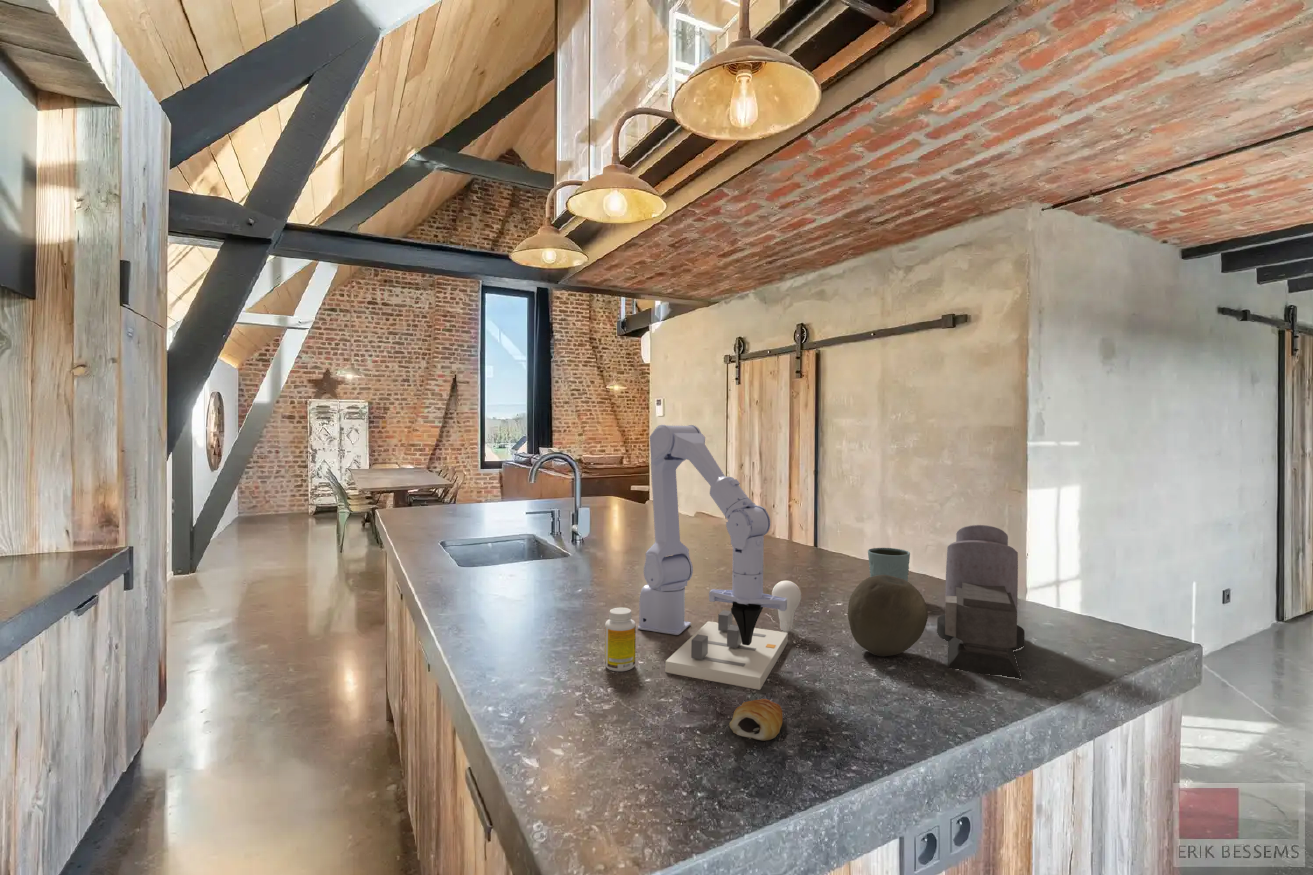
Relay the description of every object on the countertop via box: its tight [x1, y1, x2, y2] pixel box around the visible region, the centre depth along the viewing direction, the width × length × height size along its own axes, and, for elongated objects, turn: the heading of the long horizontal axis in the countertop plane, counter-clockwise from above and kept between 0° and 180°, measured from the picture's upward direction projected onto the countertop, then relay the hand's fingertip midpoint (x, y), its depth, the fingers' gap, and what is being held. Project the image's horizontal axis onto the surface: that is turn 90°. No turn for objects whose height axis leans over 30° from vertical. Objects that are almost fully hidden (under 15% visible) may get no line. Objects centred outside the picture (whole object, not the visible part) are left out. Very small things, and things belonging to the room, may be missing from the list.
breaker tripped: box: [727, 624, 742, 648], centre depth 113 cm, size 2×3×3 cm, turn 157°
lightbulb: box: [771, 580, 802, 633], centre depth 127 cm, size 6×6×11 cm
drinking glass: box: [867, 547, 911, 582], centre depth 154 cm, size 10×10×12 cm
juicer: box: [936, 524, 1026, 679], centre depth 119 cm, size 30×16×24 cm, turn 154°
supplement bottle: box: [604, 607, 637, 673], centre depth 108 cm, size 6×6×10 cm
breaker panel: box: [664, 620, 789, 691], centre depth 113 cm, size 17×24×2 cm
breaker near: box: [691, 634, 708, 660], centre depth 107 cm, size 2×3×3 cm, turn 157°
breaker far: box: [717, 609, 733, 631], centre depth 122 cm, size 2×3×3 cm, turn 157°
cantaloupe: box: [847, 575, 929, 657], centre depth 115 cm, size 14×14×15 cm
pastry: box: [729, 698, 784, 741], centre depth 87 cm, size 9×7×4 cm
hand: (746, 643), depth 112 cm, fingers closed
